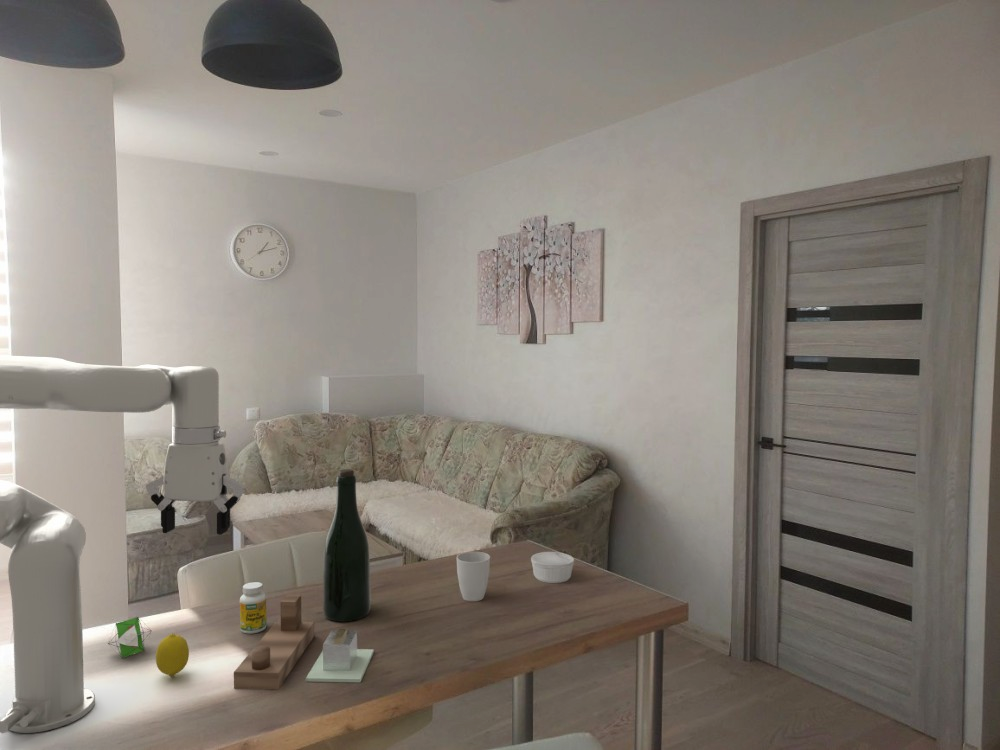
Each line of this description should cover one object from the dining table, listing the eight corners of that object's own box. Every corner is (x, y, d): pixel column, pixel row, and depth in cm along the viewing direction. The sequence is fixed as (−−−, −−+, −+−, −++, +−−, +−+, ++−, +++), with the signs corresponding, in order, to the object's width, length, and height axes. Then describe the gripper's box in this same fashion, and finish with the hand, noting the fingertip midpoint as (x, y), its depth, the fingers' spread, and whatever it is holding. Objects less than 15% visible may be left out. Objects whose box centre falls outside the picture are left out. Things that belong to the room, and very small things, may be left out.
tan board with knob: (278, 689, 123) (277, 640, 123) (233, 688, 124) (233, 639, 123) (314, 636, 145) (313, 594, 145) (276, 635, 146) (275, 593, 145)
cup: (496, 595, 169) (496, 555, 168) (477, 606, 162) (477, 564, 161) (468, 588, 173) (469, 549, 173) (449, 599, 166) (449, 558, 166)
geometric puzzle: (101, 640, 138) (109, 615, 134) (137, 629, 143) (146, 605, 140) (113, 670, 134) (122, 645, 131) (149, 658, 140) (159, 634, 136)
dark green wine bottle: (376, 618, 155) (375, 472, 153) (328, 626, 150) (327, 475, 148) (363, 601, 164) (363, 464, 162) (318, 609, 160) (317, 467, 158)
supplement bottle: (262, 621, 152) (262, 579, 152) (269, 630, 148) (269, 586, 147) (237, 627, 149) (236, 583, 149) (243, 636, 145) (242, 591, 144)
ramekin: (582, 577, 183) (582, 557, 182) (557, 588, 174) (557, 567, 174) (548, 567, 190) (548, 548, 190) (522, 578, 182) (522, 558, 181)
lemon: (167, 686, 124) (166, 643, 124) (149, 678, 127) (148, 635, 127) (195, 674, 129) (194, 632, 128) (177, 666, 132) (176, 625, 131)
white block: (349, 671, 129) (349, 640, 129) (323, 670, 129) (322, 640, 129) (357, 656, 135) (356, 627, 135) (331, 655, 135) (331, 626, 135)
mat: (360, 682, 126) (360, 679, 126) (305, 681, 126) (305, 678, 126) (373, 652, 138) (373, 649, 138) (323, 651, 138) (323, 648, 138)
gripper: (252, 434, 126) (251, 527, 127) (158, 432, 126) (158, 525, 127) (235, 440, 118) (235, 539, 119) (135, 438, 119) (136, 536, 120)
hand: (195, 531), depth 123 cm, fingers open, 9 cm apart
